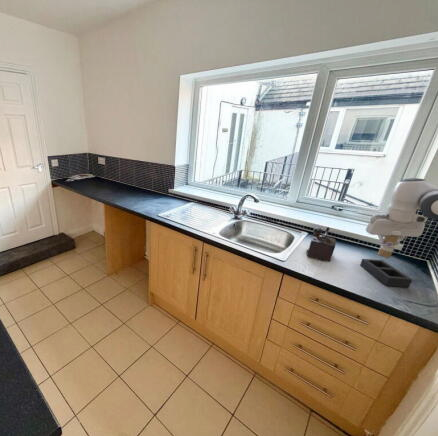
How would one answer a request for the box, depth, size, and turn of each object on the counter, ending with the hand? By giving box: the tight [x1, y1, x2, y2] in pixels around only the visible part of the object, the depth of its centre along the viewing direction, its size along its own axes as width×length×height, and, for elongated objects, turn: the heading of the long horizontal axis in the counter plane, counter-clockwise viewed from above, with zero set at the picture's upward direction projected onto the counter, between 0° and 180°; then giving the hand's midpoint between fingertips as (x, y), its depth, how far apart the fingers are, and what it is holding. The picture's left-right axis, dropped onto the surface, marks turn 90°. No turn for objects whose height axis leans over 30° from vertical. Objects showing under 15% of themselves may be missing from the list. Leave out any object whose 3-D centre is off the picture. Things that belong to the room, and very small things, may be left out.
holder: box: [359, 258, 413, 288], centre depth 112 cm, size 9×16×4 cm, turn 173°
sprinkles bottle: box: [377, 231, 402, 259], centre depth 110 cm, size 5×5×14 cm
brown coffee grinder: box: [306, 226, 337, 263], centre depth 125 cm, size 16×11×18 cm
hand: (388, 243), depth 111 cm, fingers closed on sprinkles bottle, 4 cm apart
